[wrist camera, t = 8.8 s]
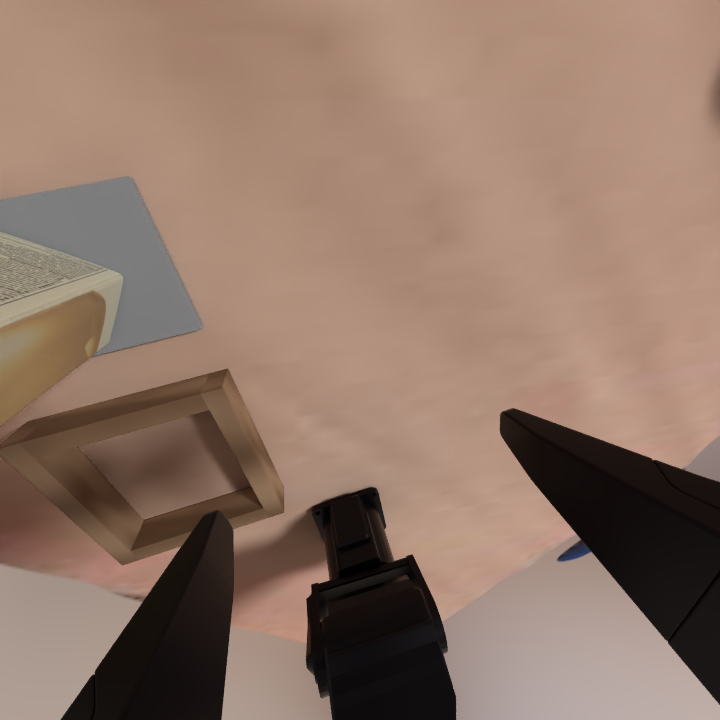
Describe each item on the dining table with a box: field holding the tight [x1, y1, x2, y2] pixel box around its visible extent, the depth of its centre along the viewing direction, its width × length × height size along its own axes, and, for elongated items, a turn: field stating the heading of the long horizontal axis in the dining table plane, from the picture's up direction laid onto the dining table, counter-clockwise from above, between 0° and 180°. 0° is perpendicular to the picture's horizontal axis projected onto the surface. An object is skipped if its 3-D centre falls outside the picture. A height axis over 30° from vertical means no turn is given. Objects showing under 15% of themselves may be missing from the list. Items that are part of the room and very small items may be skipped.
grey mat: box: [0, 177, 203, 357], centre depth 16 cm, size 8×12×1 cm, turn 101°
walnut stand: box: [0, 369, 284, 565], centre depth 21 cm, size 12×12×2 cm
